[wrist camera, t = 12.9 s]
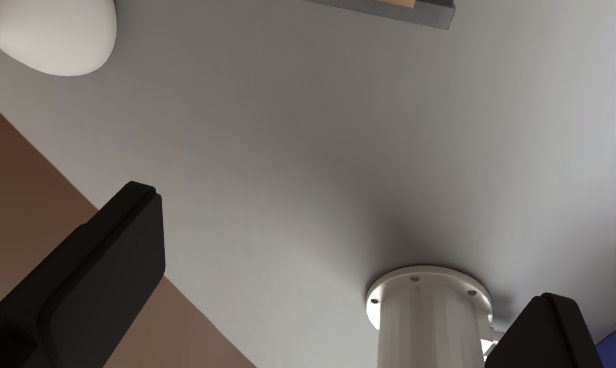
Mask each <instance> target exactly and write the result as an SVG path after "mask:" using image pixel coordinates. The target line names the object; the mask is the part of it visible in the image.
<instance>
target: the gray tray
mask: <svg viewBox="0 0 616 368" xmlns="http://www.w3.org/2000/svg"><path fill="white" fill-rule="evenodd" d="M305 1H310V2H315V3H319V4H324V5H329V6H334V7H339V8H344V9H348V10H353V11H358V12H363V13H368V14H373V15H377V16H382V17H387V18H392V19H397V20H402V21H406V22H411V23H416V24H421V25H426V26H431V27H435V28H440V29H445V30H448V29H449V27H450V24H451V21H452V18H453V15H454V13H455V10H456V8H455V5H454V3H453V2H454V0H415V3H414V6H413V8H412V7H407V6H402V5H397V4H392V3H387V2H382V1H378V0H305Z"/></svg>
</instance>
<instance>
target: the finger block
mask: <svg viewBox="0 0 616 368" xmlns="http://www.w3.org/2000/svg"><path fill="white" fill-rule="evenodd" d="M378 1H382V2H387V3H392V4H397V5H402V6H407V7H412V8H413V6H414V3H415V0H378Z"/></svg>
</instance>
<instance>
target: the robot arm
mask: <svg viewBox="0 0 616 368" xmlns="http://www.w3.org/2000/svg"><path fill="white" fill-rule="evenodd" d="M164 272H165V248H164V231H163V213H162V198H161V195H160V194H157V193H156V189H155V188H154V187H153V186H149V185H145V184H142V183H138V182H134V181H130V182H128V183H127V184H126V185H125V186H124V187H123V188H122V189H121V190H120V191H119V192H118V193H117V194H116V195H115V196H114V197H112V198H111V199H110V200H109V201H108V202H107V203H106V204H105V205H104V206H103V207H102V208H101V209H100V210H99V211H98V212H97V213H96V214H95V215H94V216H93V217H92V218H91V219H90V220H89V221H88V222H87V223H85V224H82V225H80V226H79V227H78V228H76V229H75V230H74V231H73V232H72V233H71V234H70V235H69V236H68V237H67V238H66V239H65V240H64V241H63V242H61V243H60V244H59V245H58V246H57V247H56V248H55V249H54V250H53V251H52V252H51V253H50V254H49V255H48V256H47V257H46V258H45V259H44V260H43V261H42V262H41V263H40V264H39V265H38V266H37V267H36V268H35V269H34V270H32V271H31V273H29V274H28V275H27V276H26V277H25V278H24V279H23V280H22V281H21V282H20V283H19V284H18V285H17V286H16V287H15V288H14V289H13V290H12V291H11V292H10V293H9V294H8V295H7V296H6V297H5V298H4V299H2V300H1V301H0V368H103V366H104V365H105V363H106V362H107V360H108V359H109V357H110V356H111V354H112V353H113V351H114V350H115V348H116V346H117V345H118V344H119V342H120V341H121V339H122V338H123V336H124V335H125V333H126V332H127V330H128V329H129V327H130V326H131V324H132V323H133V321H134V320H135V318H136V316H137V315H138V313H139V312H140V311H141V309H142V308H143V306H144V305H145V303H146V301H147V300H148V299H149V297H150V296H151V294H152V292H153V291H154V289H155V288H156V286H157V285H158V283H159V282H160V280H161V279H162V277H163V275H164ZM366 313H367V316H368V318H369V320H370V321H371V323H372V324H373V325H374V326H375V328H376V329H377V330H379V342H378V361H377V368H604V366H603V364H602V361H601V359H600V356H599V354H598V352H597V349H596V347H595V345H594V342H593V340H592V338H591V335H590V333H589V331H588V328H587V326H586V324H585V321H584V319H583V317H582V314H581V312H580V310H579V307H578V305H577V303H576V302H575V301H574V300H573V299H570V298H566V297H563V296H559V295H555V294H552V293H547V292H546V293H543V294H542V295H541V296H540V297H539V296H535V297H533V298H532V299H531V301H530V302H529V303H528V305H527V306H526V307H525V308H524V310H523V311H522V312H521V314H520V315H519V316H518V317H517V319H516V320H515V321H514V323H513V324H512V325H511V326H510V328H509V329H508V330H507V332H499V331H495V330H494V329H493V327H491V326H490V324H491V322H492V320H493V313H494V312H493V306H492V301H491V299H490V296H489V294H488V292H487V291H486V290H485V288H484V287H483V286H482V285H481V284H480V283H478V282H477V281H476V280H475V279H473V278H471V277H469V276H468V275H466V274H463V273H461V272H458V271H456V270H452V269H448V268H444V267H437V266H411V267H405V268H401V269H398V270H394V271H392V272H389V273H387V274H385V275H383V276H382V277H380V278H379V279H378V280H376V281H375V282H374V284H373V285H372V286H371V287H370V289H369V291H368V293H367V298H366Z"/></svg>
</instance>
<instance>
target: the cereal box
mask: <svg viewBox="0 0 616 368" xmlns="http://www.w3.org/2000/svg"><path fill="white" fill-rule="evenodd" d="M595 347H596V349H597V352H598V354H599V356H600V359H601V361H602V364H603V366H604V368H616V331H614V332H613V333H612V334H610V335H609V336H607V337H606V338H605V339H603V340H602V341H600V342H599V343H598V344H596V345H595Z"/></svg>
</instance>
